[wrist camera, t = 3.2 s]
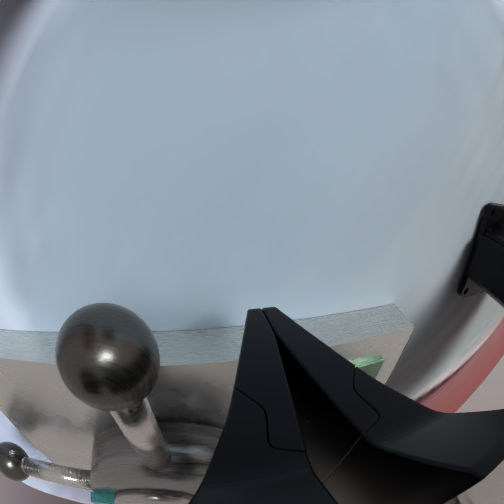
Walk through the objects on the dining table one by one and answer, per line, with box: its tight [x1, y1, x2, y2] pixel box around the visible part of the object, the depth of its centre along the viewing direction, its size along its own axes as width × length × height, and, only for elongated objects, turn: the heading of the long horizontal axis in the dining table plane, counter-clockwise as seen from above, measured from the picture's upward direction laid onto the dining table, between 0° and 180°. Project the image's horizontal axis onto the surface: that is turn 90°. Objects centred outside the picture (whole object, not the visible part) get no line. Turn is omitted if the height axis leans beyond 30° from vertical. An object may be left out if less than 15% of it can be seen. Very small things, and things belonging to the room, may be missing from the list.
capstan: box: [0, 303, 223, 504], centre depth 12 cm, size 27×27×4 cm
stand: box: [0, 304, 414, 470], centre depth 15 cm, size 24×18×2 cm
